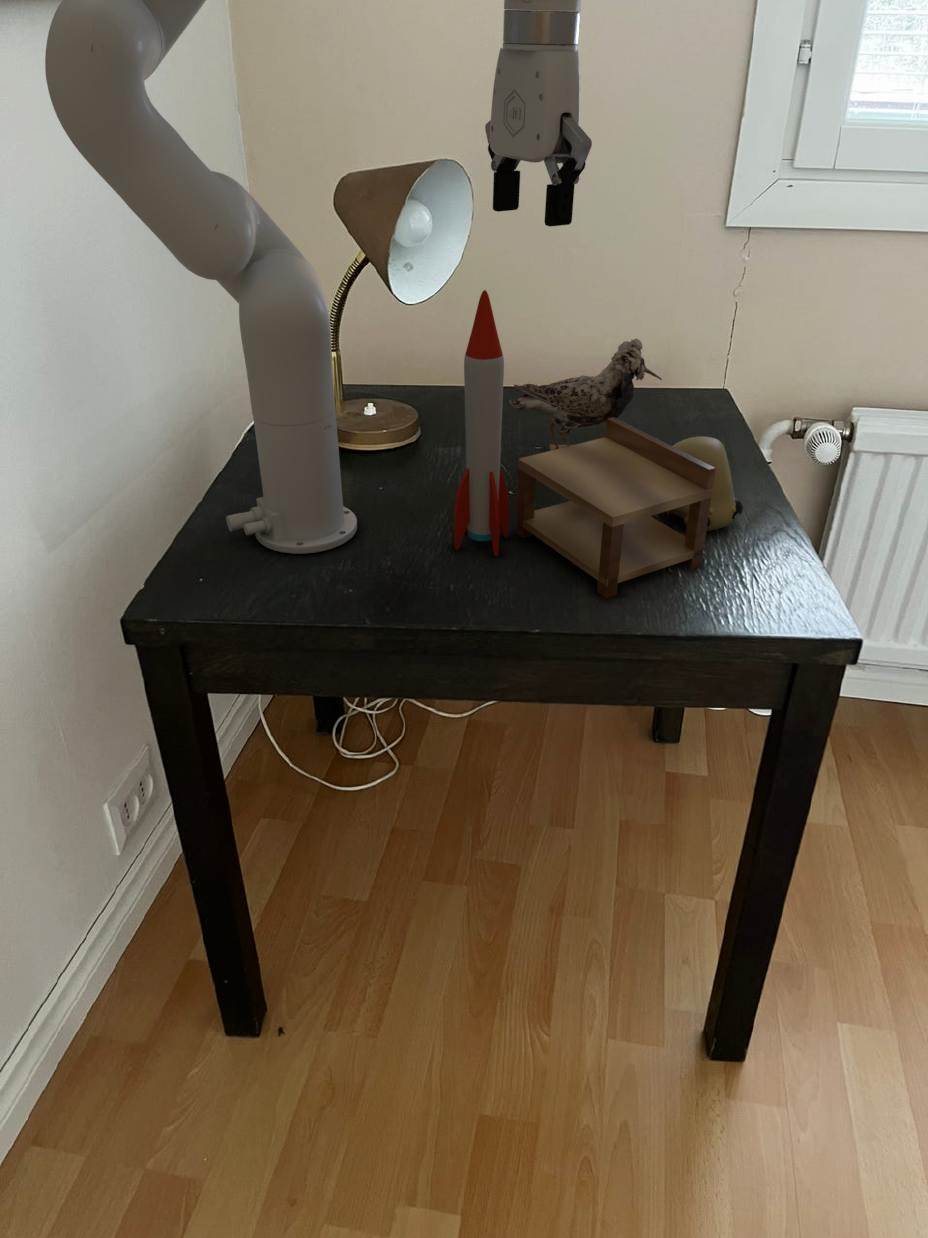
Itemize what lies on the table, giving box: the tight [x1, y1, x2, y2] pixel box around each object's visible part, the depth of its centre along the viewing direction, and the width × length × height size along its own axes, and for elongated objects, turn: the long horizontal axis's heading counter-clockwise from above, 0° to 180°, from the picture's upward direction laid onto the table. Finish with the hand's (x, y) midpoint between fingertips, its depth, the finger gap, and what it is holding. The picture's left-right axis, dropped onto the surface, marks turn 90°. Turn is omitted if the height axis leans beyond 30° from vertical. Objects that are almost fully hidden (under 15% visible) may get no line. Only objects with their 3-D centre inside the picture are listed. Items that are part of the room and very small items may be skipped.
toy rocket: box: [453, 289, 510, 557], centre depth 108 cm, size 6×6×30 cm
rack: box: [515, 417, 716, 599], centre depth 111 cm, size 14×18×12 cm
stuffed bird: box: [509, 337, 663, 451], centre depth 132 cm, size 10×20×17 cm, turn 106°
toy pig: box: [669, 436, 744, 532], centre depth 119 cm, size 10×12×11 cm
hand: (530, 217), depth 104 cm, fingers open, 9 cm apart
